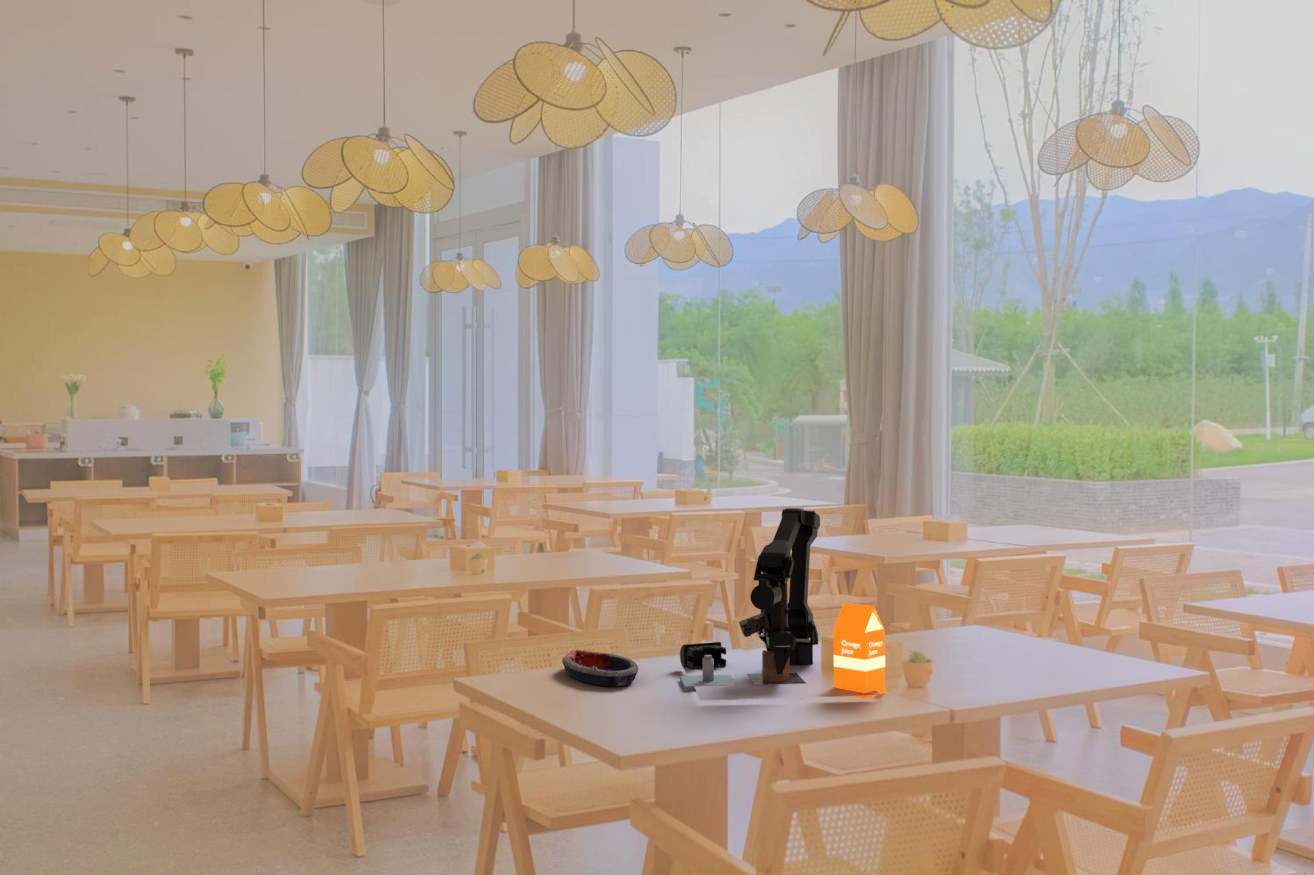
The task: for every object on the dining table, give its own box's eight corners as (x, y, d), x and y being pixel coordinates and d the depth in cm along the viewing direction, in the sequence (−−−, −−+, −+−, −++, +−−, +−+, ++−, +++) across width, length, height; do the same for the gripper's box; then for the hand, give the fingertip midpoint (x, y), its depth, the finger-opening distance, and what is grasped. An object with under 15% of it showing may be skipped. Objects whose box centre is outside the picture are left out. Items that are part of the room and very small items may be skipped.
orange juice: (854, 687, 288) (853, 600, 287) (885, 693, 281) (885, 604, 281) (833, 692, 282) (832, 604, 282) (865, 698, 276) (864, 608, 276)
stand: (796, 678, 299) (796, 649, 299) (806, 688, 287) (806, 658, 287) (746, 679, 298) (746, 650, 298) (754, 689, 286) (754, 660, 286)
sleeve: (786, 675, 296) (786, 648, 296) (791, 680, 290) (790, 652, 290) (761, 676, 295) (761, 648, 295) (765, 681, 289) (765, 653, 289)
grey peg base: (730, 679, 298) (730, 650, 298) (737, 690, 286) (737, 659, 286) (680, 680, 297) (680, 651, 297) (685, 691, 285) (684, 660, 285)
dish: (591, 693, 285) (591, 671, 285) (549, 669, 313) (548, 650, 313) (653, 687, 291) (653, 665, 291) (606, 664, 319) (606, 645, 319)
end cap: (716, 666, 314) (716, 640, 314) (728, 671, 308) (727, 644, 308) (679, 670, 311) (679, 642, 311) (690, 675, 304) (690, 647, 304)
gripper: (735, 599, 301) (736, 663, 301) (747, 610, 282) (747, 679, 283) (781, 598, 302) (781, 662, 302) (795, 609, 283) (796, 678, 283)
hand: (776, 670), depth 292 cm, fingers open, 9 cm apart
